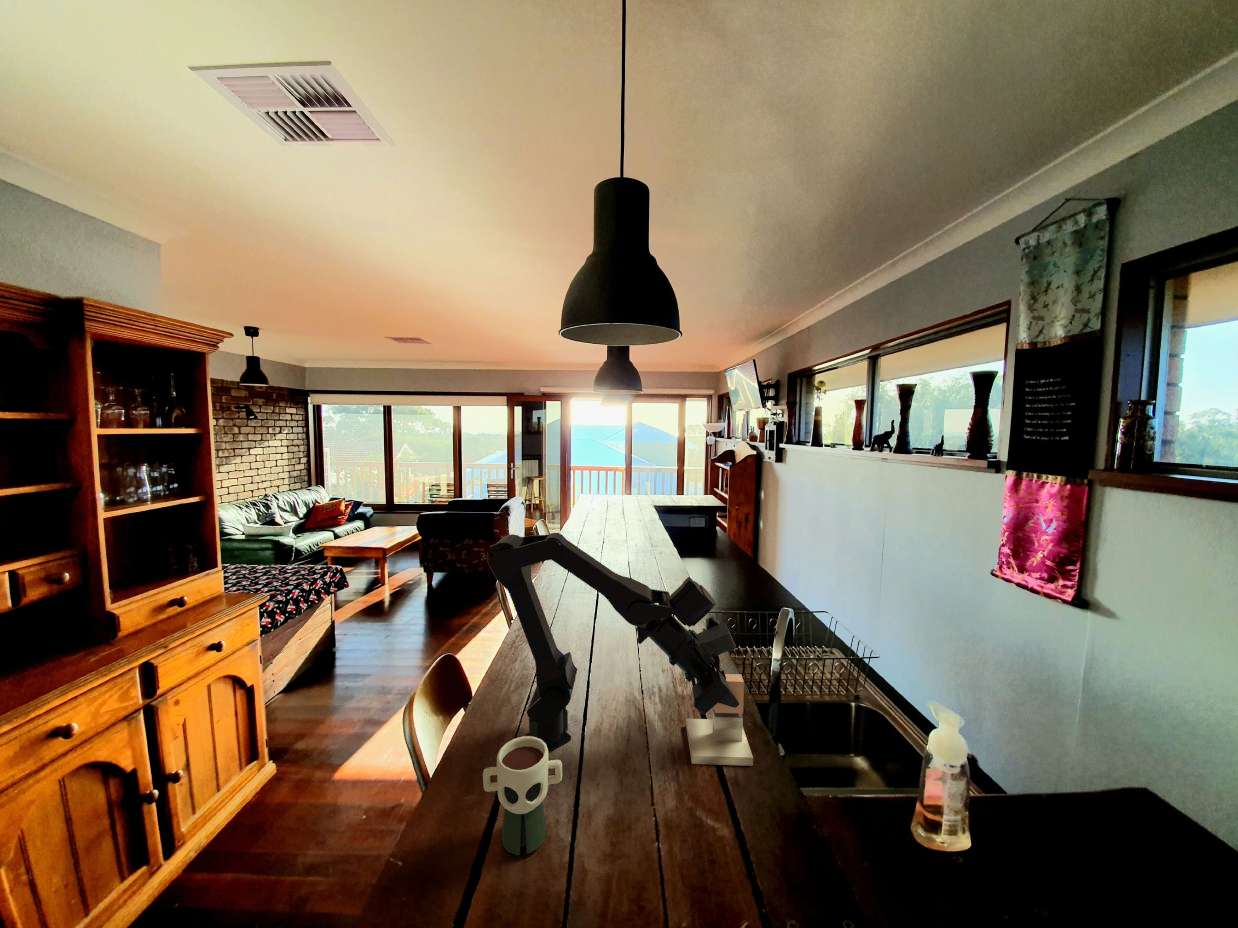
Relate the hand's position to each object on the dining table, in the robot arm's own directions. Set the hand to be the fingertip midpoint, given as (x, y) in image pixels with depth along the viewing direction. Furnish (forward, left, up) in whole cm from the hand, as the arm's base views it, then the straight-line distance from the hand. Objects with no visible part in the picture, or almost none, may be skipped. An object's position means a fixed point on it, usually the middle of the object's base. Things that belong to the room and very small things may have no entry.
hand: (735, 700), depth 83 cm
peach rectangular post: (-1, +1, -2) cm, 2 cm away
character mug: (-38, +9, -9) cm, 41 cm away
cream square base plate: (-2, +2, -9) cm, 9 cm away
